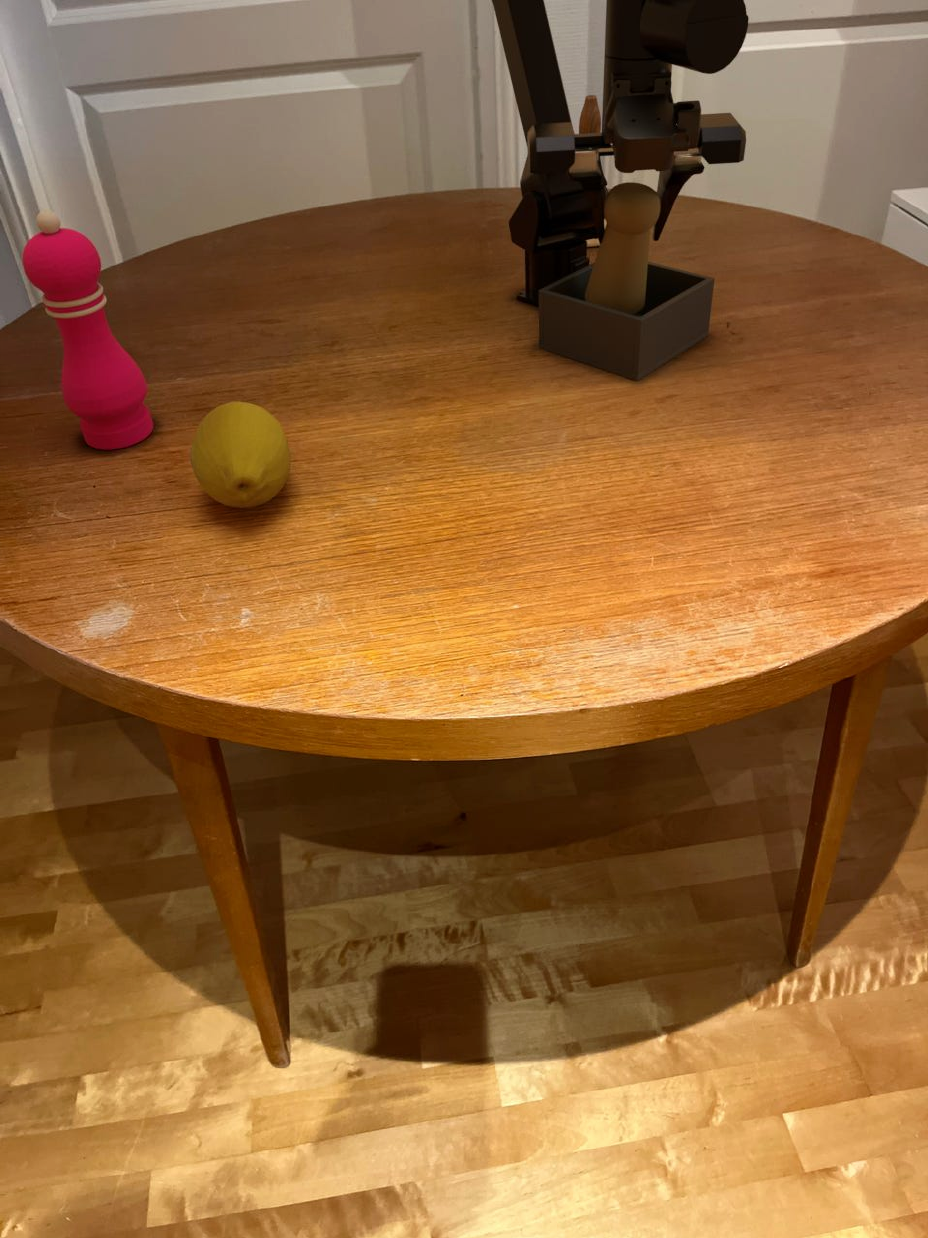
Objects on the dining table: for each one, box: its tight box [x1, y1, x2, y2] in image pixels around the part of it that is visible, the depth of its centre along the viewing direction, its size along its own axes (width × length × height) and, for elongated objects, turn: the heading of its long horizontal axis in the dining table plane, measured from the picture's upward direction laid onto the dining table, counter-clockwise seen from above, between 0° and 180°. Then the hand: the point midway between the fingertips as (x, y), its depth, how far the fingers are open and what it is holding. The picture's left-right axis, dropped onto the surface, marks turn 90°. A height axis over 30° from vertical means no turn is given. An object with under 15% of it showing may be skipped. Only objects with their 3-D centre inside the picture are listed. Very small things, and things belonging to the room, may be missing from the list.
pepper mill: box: [22, 210, 154, 451], centre depth 82 cm, size 7×7×20 cm
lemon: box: [190, 401, 292, 509], centre depth 76 cm, size 11×8×8 cm
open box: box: [538, 261, 715, 382], centre depth 94 cm, size 12×12×6 cm
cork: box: [585, 181, 661, 315], centre depth 90 cm, size 6×6×11 cm
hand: (627, 240), depth 90 cm, fingers closed on cork, 5 cm apart
